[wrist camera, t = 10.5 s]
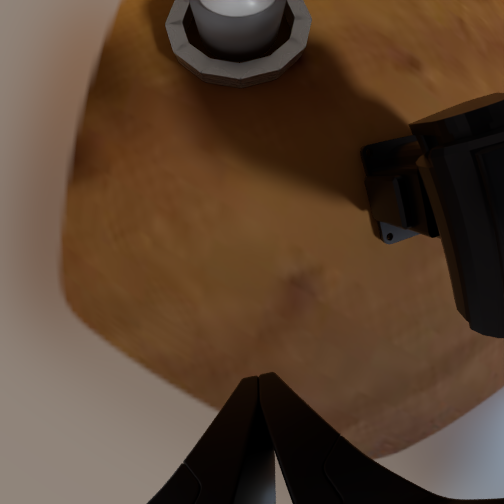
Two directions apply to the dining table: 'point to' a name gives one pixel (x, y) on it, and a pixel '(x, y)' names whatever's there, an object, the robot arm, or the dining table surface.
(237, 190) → the dining table surface
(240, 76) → the barrel ring
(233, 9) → the lens puck
